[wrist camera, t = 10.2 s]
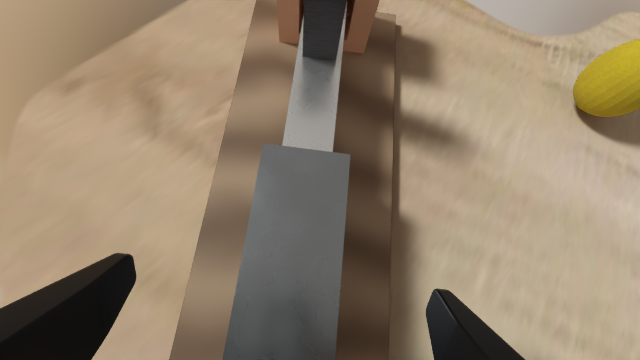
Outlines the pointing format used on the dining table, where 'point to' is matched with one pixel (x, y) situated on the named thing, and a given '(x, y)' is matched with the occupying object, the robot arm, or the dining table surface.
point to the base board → (241, 173)
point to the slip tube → (316, 76)
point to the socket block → (356, 24)
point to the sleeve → (291, 258)
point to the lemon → (611, 82)
